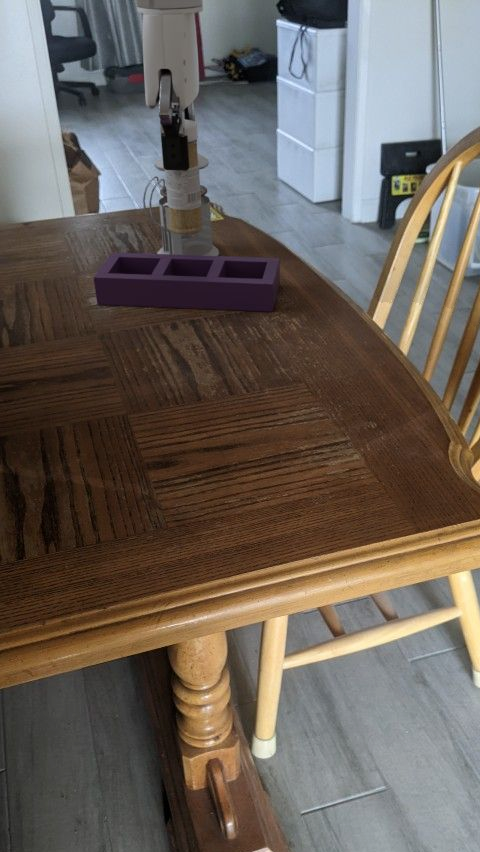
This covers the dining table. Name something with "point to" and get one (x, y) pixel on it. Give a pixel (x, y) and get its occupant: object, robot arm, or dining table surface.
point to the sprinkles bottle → (185, 190)
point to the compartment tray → (188, 281)
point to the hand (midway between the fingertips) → (180, 162)
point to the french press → (184, 242)
